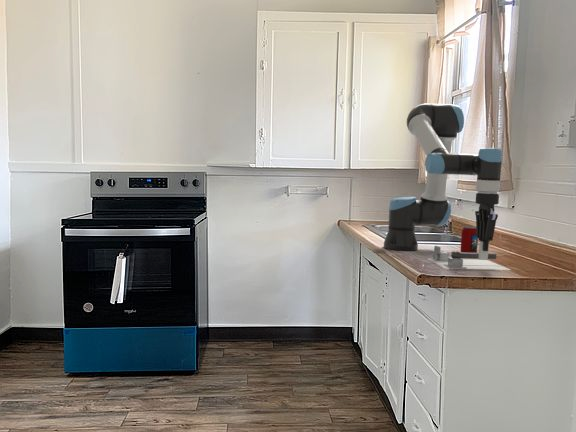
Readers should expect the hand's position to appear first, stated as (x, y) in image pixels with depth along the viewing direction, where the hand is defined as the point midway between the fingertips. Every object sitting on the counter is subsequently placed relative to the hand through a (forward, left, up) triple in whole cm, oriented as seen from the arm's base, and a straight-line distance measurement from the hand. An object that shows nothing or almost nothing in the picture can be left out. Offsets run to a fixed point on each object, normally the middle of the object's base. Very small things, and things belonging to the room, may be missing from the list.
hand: (483, 259), depth 177 cm
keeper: (-18, -8, -4) cm, 21 cm away
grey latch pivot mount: (-5, -8, -4) cm, 10 cm away
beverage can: (-39, +11, -5) cm, 41 cm away
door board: (-11, -1, -5) cm, 12 cm away
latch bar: (-5, -2, 0) cm, 5 cm away
